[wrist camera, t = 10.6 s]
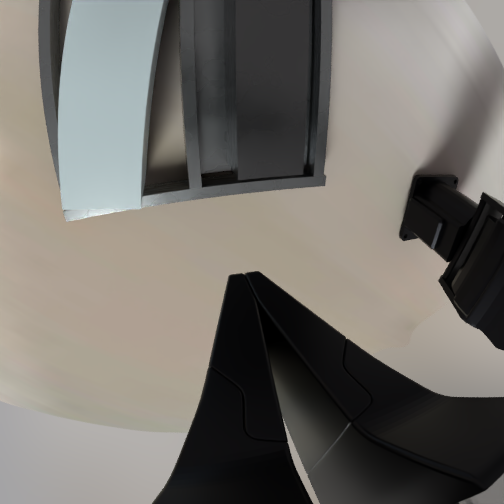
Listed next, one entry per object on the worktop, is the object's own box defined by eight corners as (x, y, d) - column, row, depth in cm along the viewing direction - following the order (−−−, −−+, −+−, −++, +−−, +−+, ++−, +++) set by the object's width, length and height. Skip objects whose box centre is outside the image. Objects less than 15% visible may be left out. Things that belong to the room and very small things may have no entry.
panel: (172, -15, 11) (175, -44, 7) (146, 174, 17) (140, 208, 13) (104, -14, 10) (83, -40, 6) (85, 174, 16) (62, 209, 12)
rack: (321, -42, 11) (351, -56, 8) (314, 177, 20) (340, 198, 17) (48, -25, 7) (26, -40, 5) (72, 210, 17) (57, 239, 14)
